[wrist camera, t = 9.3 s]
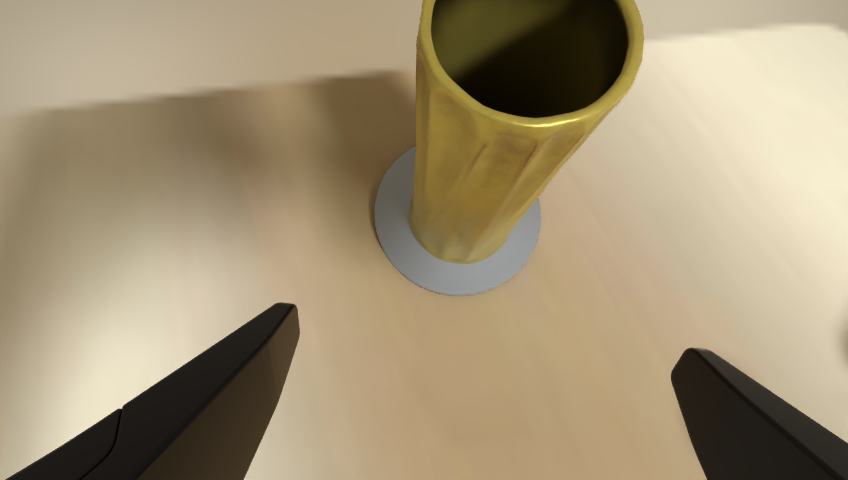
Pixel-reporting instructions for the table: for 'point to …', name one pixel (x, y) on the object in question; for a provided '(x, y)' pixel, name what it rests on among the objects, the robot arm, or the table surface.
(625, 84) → the vase
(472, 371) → the table surface
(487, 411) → the table surface
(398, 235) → the mat
